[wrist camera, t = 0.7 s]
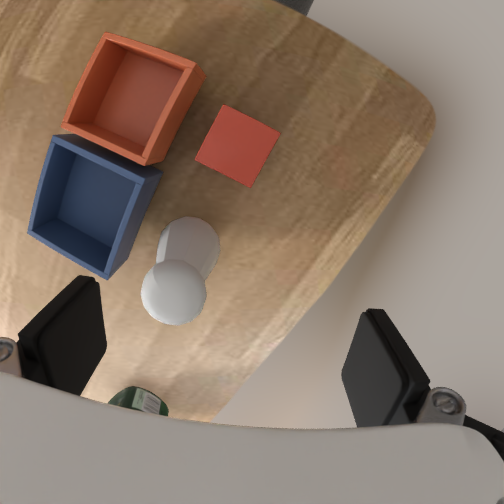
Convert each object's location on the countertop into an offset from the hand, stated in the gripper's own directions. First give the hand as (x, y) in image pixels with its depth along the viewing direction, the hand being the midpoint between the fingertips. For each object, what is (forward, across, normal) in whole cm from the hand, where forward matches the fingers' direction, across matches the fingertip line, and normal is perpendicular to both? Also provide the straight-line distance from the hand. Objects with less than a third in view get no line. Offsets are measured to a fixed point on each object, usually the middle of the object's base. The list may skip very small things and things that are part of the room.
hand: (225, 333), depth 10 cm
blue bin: (+21, +15, 0) cm, 25 cm away
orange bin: (+21, +11, -10) cm, 25 cm away
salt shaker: (+21, +5, +4) cm, 22 cm away
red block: (+21, +1, -6) cm, 22 cm away
